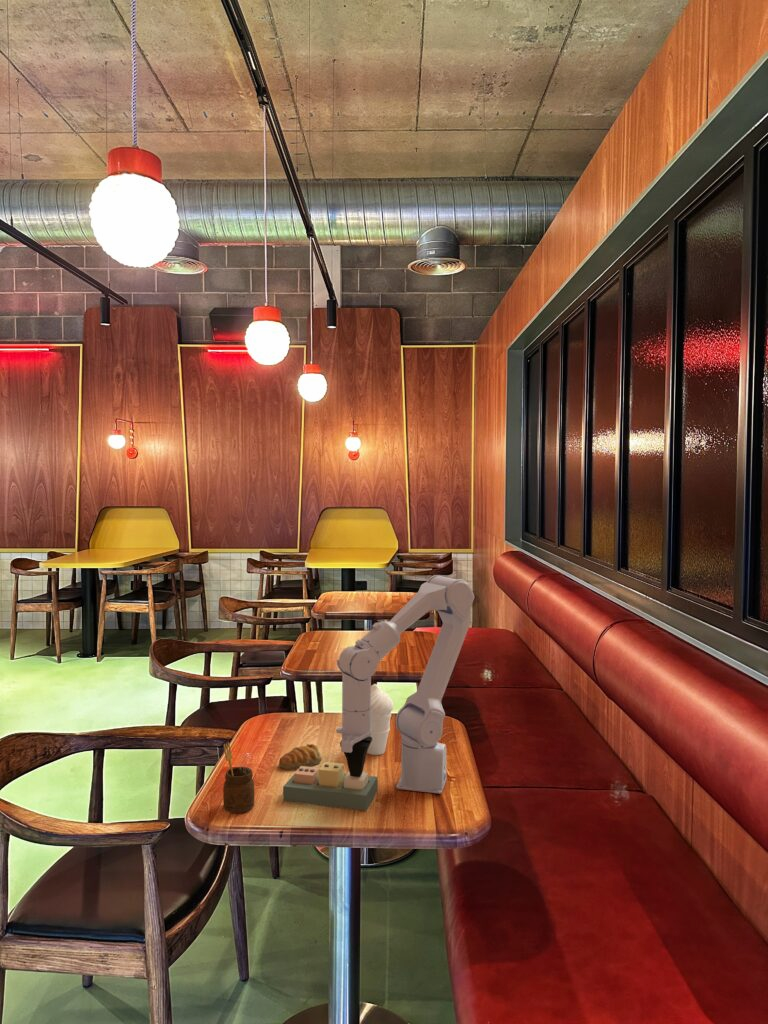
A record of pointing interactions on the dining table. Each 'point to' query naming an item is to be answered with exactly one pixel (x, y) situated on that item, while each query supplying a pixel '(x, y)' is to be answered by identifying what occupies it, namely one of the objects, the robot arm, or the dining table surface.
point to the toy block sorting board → (331, 794)
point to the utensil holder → (238, 787)
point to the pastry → (300, 757)
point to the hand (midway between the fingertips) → (356, 775)
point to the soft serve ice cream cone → (379, 720)
